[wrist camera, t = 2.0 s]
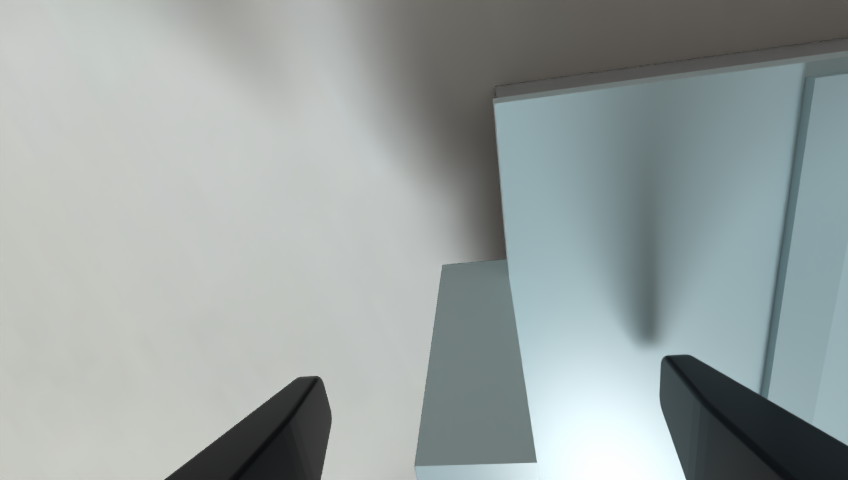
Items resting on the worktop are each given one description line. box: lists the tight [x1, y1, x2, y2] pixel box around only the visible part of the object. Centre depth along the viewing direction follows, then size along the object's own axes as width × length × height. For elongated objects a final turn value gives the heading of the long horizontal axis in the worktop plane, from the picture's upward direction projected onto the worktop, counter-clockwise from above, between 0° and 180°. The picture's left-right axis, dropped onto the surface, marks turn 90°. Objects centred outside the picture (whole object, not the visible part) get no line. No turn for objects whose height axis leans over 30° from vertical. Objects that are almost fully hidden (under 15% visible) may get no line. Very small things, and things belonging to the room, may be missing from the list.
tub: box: [495, 38, 848, 98], centre depth 11 cm, size 14×9×4 cm, turn 98°
